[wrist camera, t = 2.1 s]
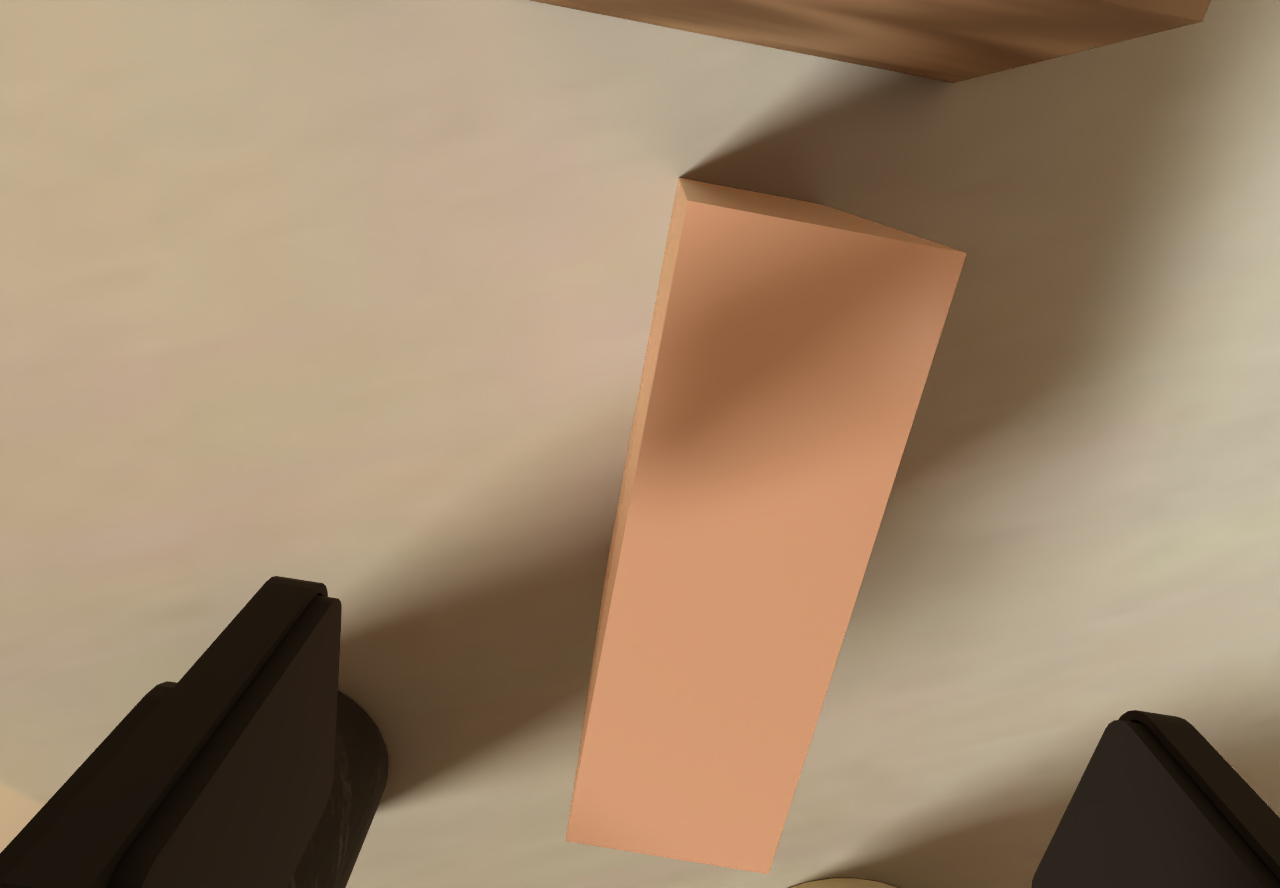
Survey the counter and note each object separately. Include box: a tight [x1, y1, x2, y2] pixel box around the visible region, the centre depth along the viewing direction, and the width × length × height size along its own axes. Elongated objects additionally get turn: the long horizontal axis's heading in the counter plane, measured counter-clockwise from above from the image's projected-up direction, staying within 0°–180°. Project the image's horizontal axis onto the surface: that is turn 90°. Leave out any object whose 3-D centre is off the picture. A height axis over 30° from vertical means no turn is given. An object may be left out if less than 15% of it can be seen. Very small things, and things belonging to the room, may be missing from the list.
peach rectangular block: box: [566, 177, 967, 874], centre depth 18 cm, size 4×12×11 cm, turn 170°
